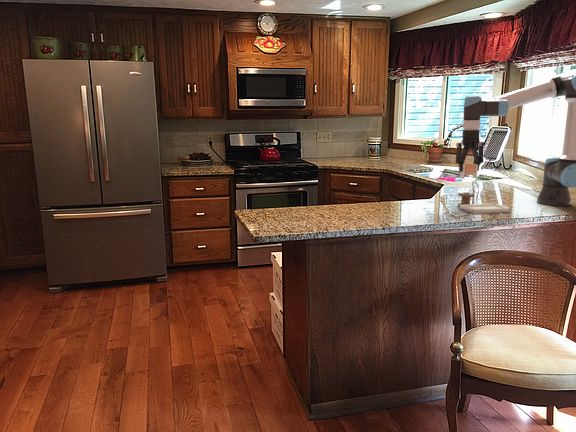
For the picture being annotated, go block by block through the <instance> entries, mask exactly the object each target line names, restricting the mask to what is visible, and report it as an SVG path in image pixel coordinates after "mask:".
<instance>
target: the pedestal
mask: <svg viewBox="0 0 576 432" xmlns="http://www.w3.org/2000/svg"><path fill="white" fill-rule="evenodd" d="M457 196H459V197H461V199H460V200H461V201H460V203H459V202H458V203H457V207H459V205H466V204H471V198H474V197H475V194H474V193H471V192H458V195H457Z"/></svg>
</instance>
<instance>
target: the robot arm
mask: <svg viewBox="0 0 576 432" xmlns="http://www.w3.org/2000/svg"><path fill="white" fill-rule="evenodd" d="M562 96H563V97H565V98H564V99H565V101H567V103H568V104H567V112H566V121H565V129H564V138H563V145H562V146H563V147H562V154H560V155H559V156H558V157H548V158H546V159H545V161H544V165H543V166H544V169H543V176H542V177H543V179H542V187H541V189H540V191H539V195H538V196H537V198H536V203H538V204H542V205H547V206H554V207H555V206H557V207H558V206H559V207H560V206H561V207H562V206H563V207H565V206H571V204H572V199H571V195H570V189H569V188H573V189H574V188H576V68H575V69H570V70H568V71H565V72H562V73H560V74H557V75H555V76H552V77H550V78H547V80H546V81H543V82H540V83H537V84H534V85H531V86H528V87H527V86H526V87H524V88H521V89H518V90H514V91H512V92H507V93H504V94H502V95H499V96H498V95H497V96H496V97H493V98H488V99H483V98H482V96H481V95H467V96H466V97H465V98H464V103H463V122H462V128H463V130H462V140H461V141H460V142H456V143H455V145H456V152H455V153H456V154H455V161H454V162H455V164H457V165H458V172H459V178H460V179H463V180H464V179H465V175H466V174H465V165H464V164H465V161H466V158H467V156H468V152H469V151H470V150H471V152H472V156H473V162H474V163H473V164H474V165H475V167H476V170H475V172H474V173H473V174H472V178H473V179H478V172H479V170H480V165H481V164H482V163H484V146H485V142H484V141H480V133H481V132H480V129H481V117H504V116H507V114H508V112H509V110H510V109H514V108H516V107H520V106H521V107H522V106H524V105H527V104H530V103H534V102H537V101H540V100H543V99H544V100H545V99H547V98H552V99H555V98H558V97H562Z"/></svg>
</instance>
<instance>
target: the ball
mask: <svg viewBox="0 0 576 432" xmlns="http://www.w3.org/2000/svg"><path fill="white" fill-rule="evenodd" d="M474 164H475V163H473V162H471V161H469V162H466V163H465V162H464V164H463V165H465V175H467V176H471V175H473V173H474V172H475V170H476V167H475V165H474Z"/></svg>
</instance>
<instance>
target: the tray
mask: <svg viewBox="0 0 576 432" xmlns="http://www.w3.org/2000/svg"><path fill="white" fill-rule="evenodd" d="M458 209H459V210H461V211H464V212H465V213H469V214H473V215H478V214H479V215H480V214H481V215H482V214H500V213H503V214H504V213H505V214H506V213H511V212H512V208H511V207H509V206H507V205H506V206H505V205H502V204H498V203H473V204H472V203H470V204H466V205H459V206H458Z"/></svg>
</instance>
